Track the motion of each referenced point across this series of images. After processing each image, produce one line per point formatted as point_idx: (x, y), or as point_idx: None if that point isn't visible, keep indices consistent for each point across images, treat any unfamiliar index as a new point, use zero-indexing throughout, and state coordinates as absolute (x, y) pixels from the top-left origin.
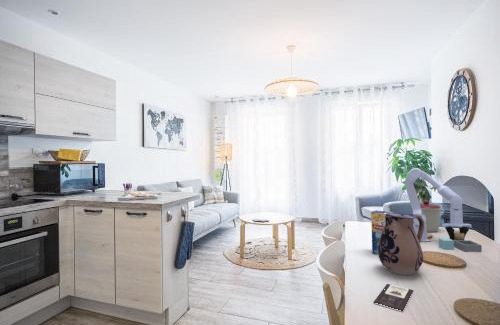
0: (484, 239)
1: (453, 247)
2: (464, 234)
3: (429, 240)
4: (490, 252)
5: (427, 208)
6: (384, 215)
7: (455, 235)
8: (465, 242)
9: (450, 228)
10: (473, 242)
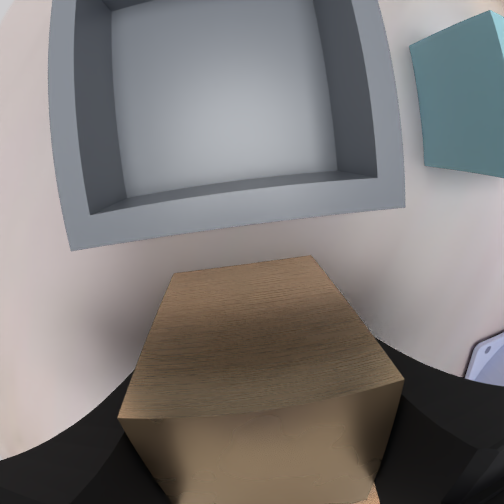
0: (2, 447)
1: (430, 39)
2: (118, 413)
3: (481, 354)
4: (24, 26)
5: None
6: None
7: (358, 345)
8: (185, 192)
9: (501, 476)
10: (76, 101)
